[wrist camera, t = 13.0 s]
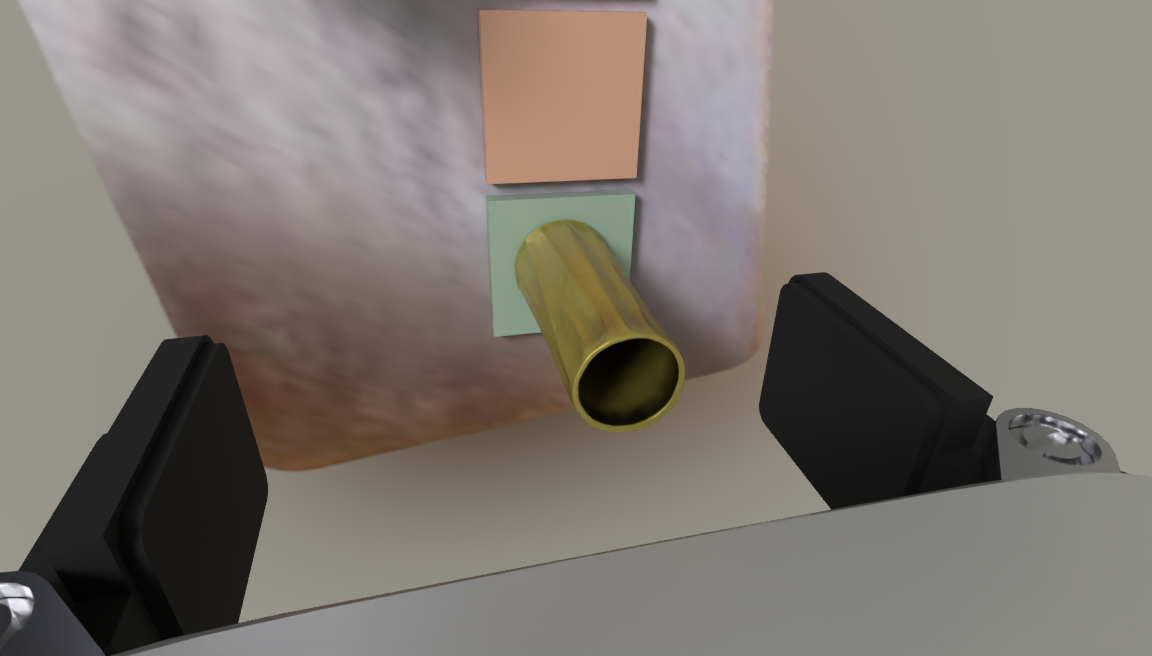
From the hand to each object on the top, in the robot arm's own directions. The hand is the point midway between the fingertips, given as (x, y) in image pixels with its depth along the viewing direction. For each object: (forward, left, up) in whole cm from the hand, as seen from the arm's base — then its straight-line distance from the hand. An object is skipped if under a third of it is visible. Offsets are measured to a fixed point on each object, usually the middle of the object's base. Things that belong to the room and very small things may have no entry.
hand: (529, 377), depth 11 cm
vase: (+10, +7, -28) cm, 30 cm away
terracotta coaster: (0, +7, -29) cm, 29 cm away
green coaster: (+10, +7, -29) cm, 31 cm away
